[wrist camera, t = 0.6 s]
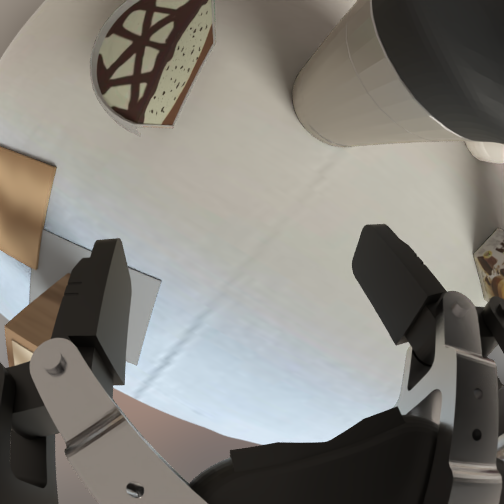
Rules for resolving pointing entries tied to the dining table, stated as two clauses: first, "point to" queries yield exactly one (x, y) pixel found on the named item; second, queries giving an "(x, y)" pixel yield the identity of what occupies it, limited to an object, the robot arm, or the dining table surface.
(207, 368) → the dining table surface
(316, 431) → the dining table surface
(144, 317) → the tile
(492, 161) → the bottle
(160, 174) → the dining table surface
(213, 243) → the dining table surface
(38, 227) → the cork pad
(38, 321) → the walnut block
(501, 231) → the coffee box
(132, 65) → the food container
